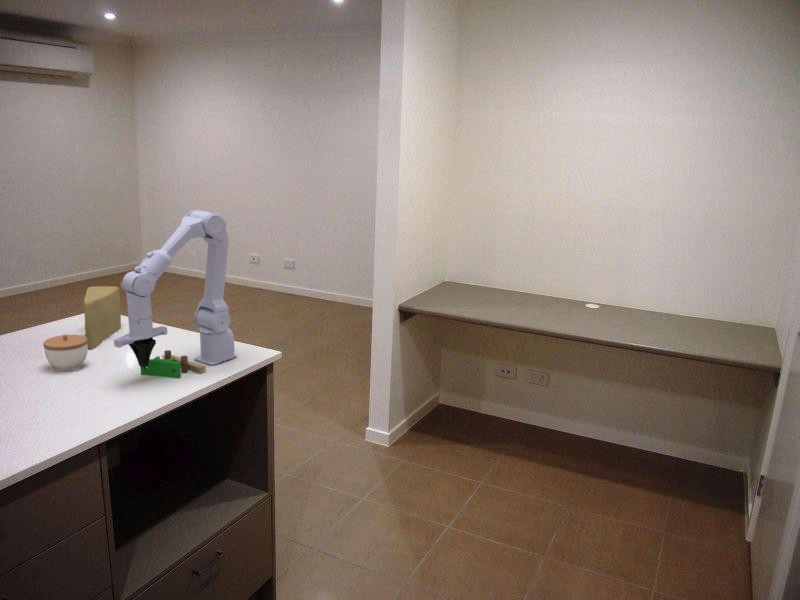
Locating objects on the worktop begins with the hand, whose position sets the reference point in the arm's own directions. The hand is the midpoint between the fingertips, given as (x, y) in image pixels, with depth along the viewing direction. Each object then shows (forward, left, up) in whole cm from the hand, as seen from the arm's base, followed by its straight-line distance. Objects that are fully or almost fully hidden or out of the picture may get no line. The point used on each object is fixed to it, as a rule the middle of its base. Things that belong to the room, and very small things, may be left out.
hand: (143, 365), depth 162 cm
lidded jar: (+7, -24, -4) cm, 25 cm away
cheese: (-12, -40, -4) cm, 42 cm away
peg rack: (-11, 0, -4) cm, 12 cm away
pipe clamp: (-6, 0, -4) cm, 7 cm away
